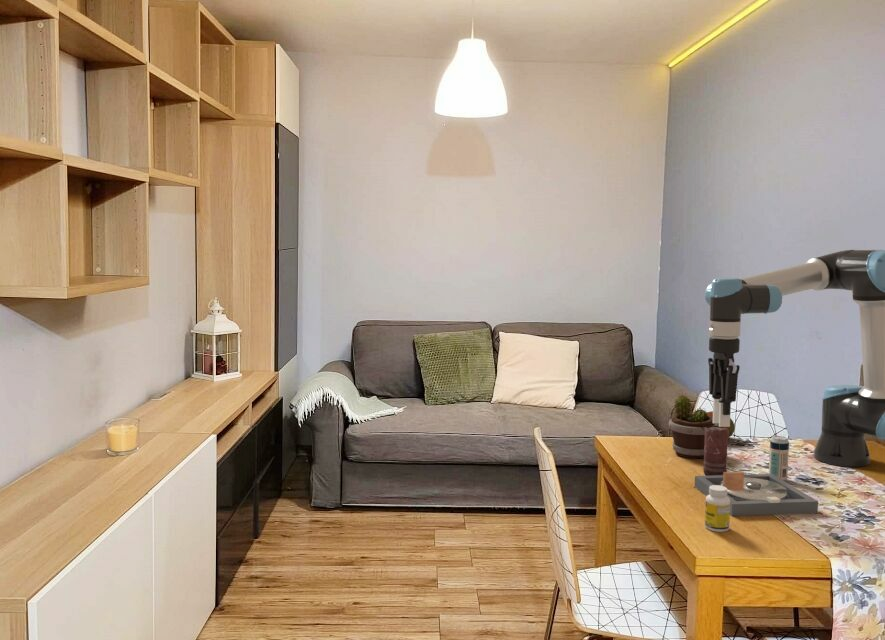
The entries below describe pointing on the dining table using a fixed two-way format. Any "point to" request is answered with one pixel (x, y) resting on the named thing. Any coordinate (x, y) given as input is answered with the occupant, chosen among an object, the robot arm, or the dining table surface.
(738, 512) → the dial plate
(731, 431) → the fruit
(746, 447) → the dining table surface
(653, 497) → the dining table surface
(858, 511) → the dining table surface
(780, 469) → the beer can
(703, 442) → the flowerpot
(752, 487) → the dial
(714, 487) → the supplement bottle
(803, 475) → the dining table surface
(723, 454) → the can
